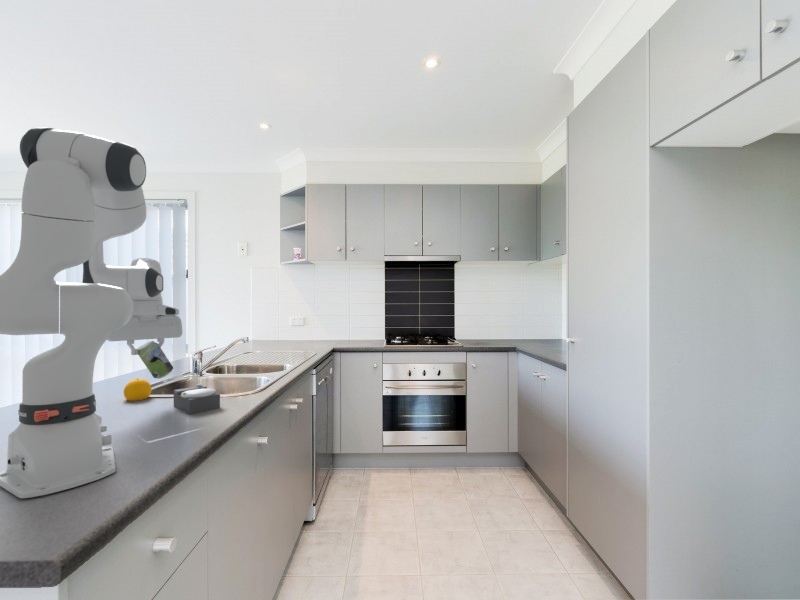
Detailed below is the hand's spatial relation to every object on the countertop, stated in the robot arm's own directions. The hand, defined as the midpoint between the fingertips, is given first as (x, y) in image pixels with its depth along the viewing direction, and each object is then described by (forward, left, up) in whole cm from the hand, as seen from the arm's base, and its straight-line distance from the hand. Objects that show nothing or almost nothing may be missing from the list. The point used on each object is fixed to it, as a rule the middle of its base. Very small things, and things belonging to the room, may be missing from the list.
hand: (146, 353), depth 118 cm
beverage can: (0, -5, -8) cm, 9 cm away
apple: (+16, -2, -18) cm, 24 cm away
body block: (-10, -11, -18) cm, 23 cm away
